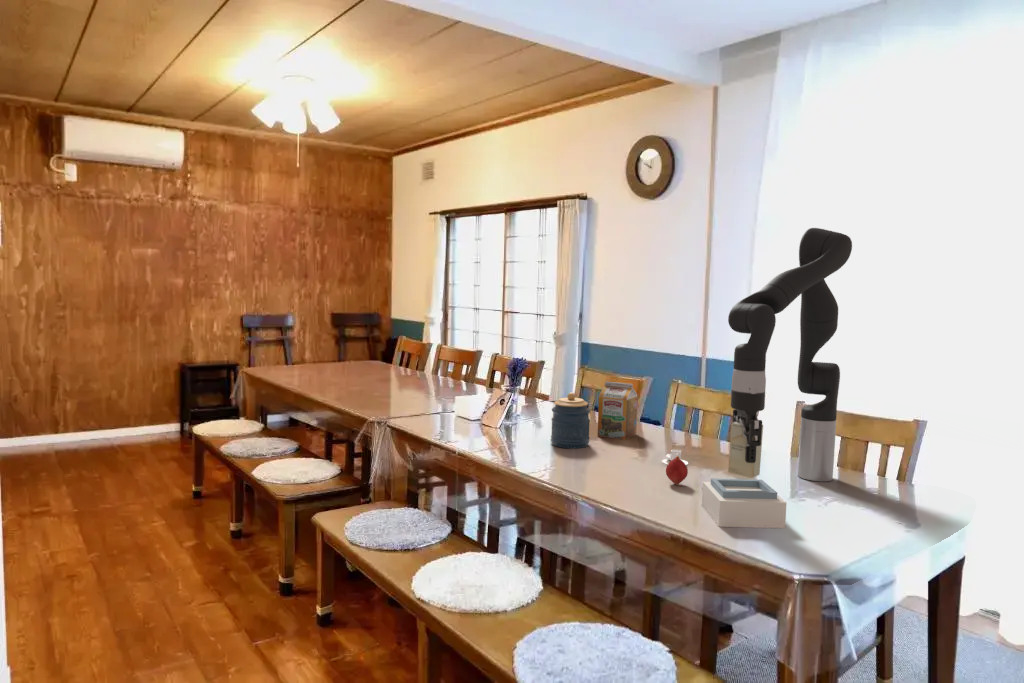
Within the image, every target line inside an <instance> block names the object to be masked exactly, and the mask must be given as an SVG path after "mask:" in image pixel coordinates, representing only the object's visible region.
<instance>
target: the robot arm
mask: <svg viewBox="0 0 1024 683" xmlns="http://www.w3.org/2000/svg"><path fill="white" fill-rule="evenodd" d="M852 251H853V242H852V239H851V237H850V236H848V235H847V234H844V233H841V232H838V231H834V230H833V231H832V230H828V229H825V228H819V227H811V228H808V229H806V231H804V232H803V235H802V237H801V238H800V242H799V248H798V261H799V266H798V267H795V268H791V269H788V270H786V271H783V272H781V273H779V274H777V275H776V276H775V277H773V278H772V279H770V281H769V282H768V283H766V285H764V286H763V287H762V288H761V289H760V290H759V291H756V292H754V293H752V294H750V295H748V296H747V297H745V298H743V299H741V300H739V301H737V303H736V304H734V305H733V306H732V308H731V309H730V311H729V314H728V325H729V327H730V329H731V330H732V331H734V332H736V333H741V334H749V335H750V336H749V338H748V340H747V342H746V343H739V344H738V345H736V346H735V348H734V353H733V355H734V356H733V370H732V378H731V390H730V392H731V393H730V407H731V408H732V409H733V410H732V423H733V422H739V423H740V425H741V428H742V436H743V437H744V438H745V442H746V452H745V461H746V462H747V463H755V462H756V447H758V446H761V434H762V425H763V420H761V419H759V418H758V415H757V413H758V412H761V411H764V410H765V407H766V403H765V402H766V388H767V387H766V383H767V382H766V381H767V378H766V376H767V375H766V363H767V362H766V361H767V356H766V355H767V353H768V349H769V346H770V342H771V340H772V336H773V335H774V334H773V333H774V332H775V327H776V322H777V319H776V318H777V317H776V315H777V314H779V313H781V312H783V311H785V309H786V308H787V307H788V306H790V305H791V304H792V303H793V302H794V301H795V300H796V299H797V298H799V296H801V297H800V298H801V300H800V302H801V303H800V318H799V319H800V320H799V323H800V324H799V325H800V328H799V329H800V330H799V331H800V348H799V349H800V351H799V359H798V360H799V361H798V369H797V388H798V389H799V391H800V392H801V393H804V394H807V395H808V394H809V395H821V396H825V397H824V399H823V400H821V401H819V402H816V403H813V404H808V405H805V406H802V408H801V411H800V412H801V413H800V428H799V430H800V432H799V444H798V445H799V449H798V466H797V476H798V477H799V478H801V479H804V480H808V481H811V482H812V481H814V482H831V481H833V479H834V478H833V477H834V466H835V465H834V463H835V446H836V432H837V431H836V430H837V429H836V428H837V410H838V396H839V390H840V380H841V368H840V367H839V365H838V364H837V363H834V362H824V361H823V362H821V361H813V360H814V358H815V356H816V355H817V353H818V352H819V351H820V350H821V349H822V348H823V346H825V345H826V344H827V343H828V342H829V340H831V339H832V337H833V336H834V335H835V334H836V331H837V330H838V325H839V324H838V323H839V322H838V320H839V305H838V303H837V300H836V297H835V296H834V295H833V292H832V291H831V289H830V287H829V285H828V284H827V282H826V280H825V279H826V278H827V277H829V276H830V275H831V276H832V274H834V273H836V272H837V271H839V270H840V269H841V268H843V266H845V264H846V263H847V262H848V260H849V259H850V256H851V253H852ZM748 431H749V433H747V432H748ZM753 437H754V441H753V440H752V439H753Z"/></svg>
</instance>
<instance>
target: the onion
mask: <svg viewBox="0 0 1024 683" xmlns="http://www.w3.org/2000/svg"><path fill="white" fill-rule="evenodd" d="M682 460H683V459H681V458H679V456H676V458H674V459H673V460H671V461H670V460H669V461H670V462H668V464H666V468H665V473H666V474H665V475H666V476H667V479H669V480H670V481H671V482H672V483H673V484H674V485H680V484H681V483H682V482H683V481H684V480H686V478H687V477H688V475H689V472H688V466H687V465H685V463H684V462H683V461H682Z"/></svg>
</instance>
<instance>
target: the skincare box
mask: <svg viewBox="0 0 1024 683" xmlns="http://www.w3.org/2000/svg"><path fill="white" fill-rule="evenodd" d="M730 428H731V429H730V441H729V454H728V469H727V473H729V474H733V475H737V476H740V477H741V476H742V477H746V478H749V479H753V478H755V477H758V476H759V475H761V474H760V472H761V459H762V448H763V447H762V446H763V432H764V431H763V430H764V424H762V434H761V446H758V447H756V462H755V463H747V462H746V461H745V452H746V442H745V438H744V437H743V436H742V428H741V425H740V423H739V422H733V421H732V422H731V427H730ZM747 433H749V431H748V432H747ZM752 440H753V441H754V437H753V439H752Z"/></svg>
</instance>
